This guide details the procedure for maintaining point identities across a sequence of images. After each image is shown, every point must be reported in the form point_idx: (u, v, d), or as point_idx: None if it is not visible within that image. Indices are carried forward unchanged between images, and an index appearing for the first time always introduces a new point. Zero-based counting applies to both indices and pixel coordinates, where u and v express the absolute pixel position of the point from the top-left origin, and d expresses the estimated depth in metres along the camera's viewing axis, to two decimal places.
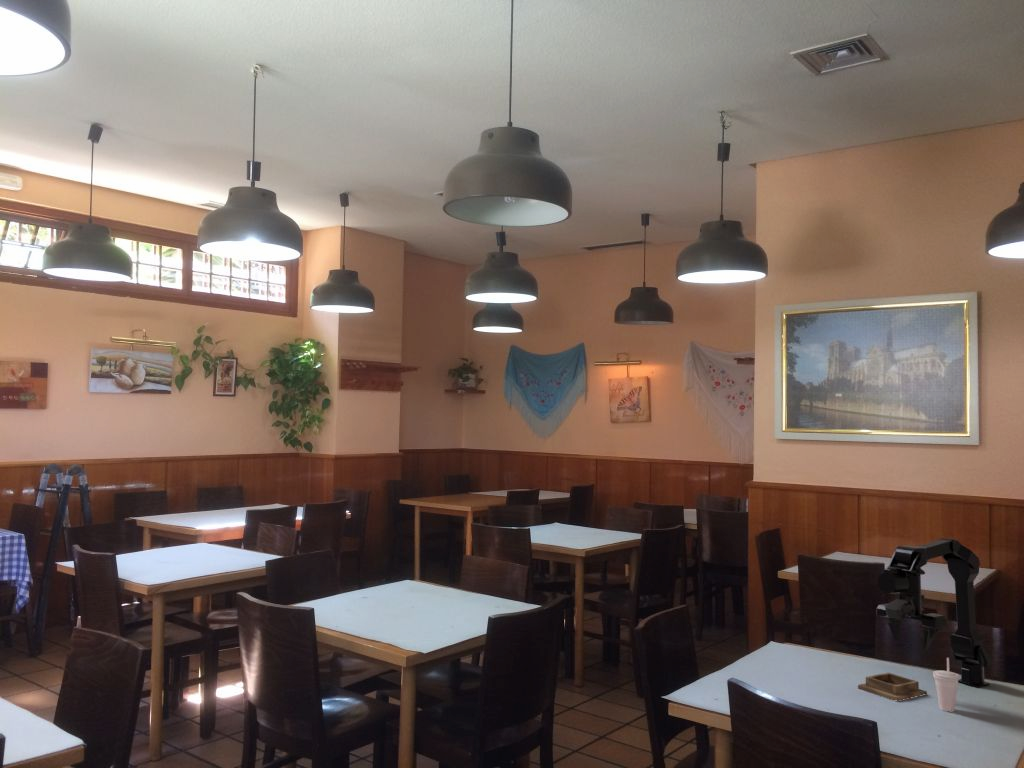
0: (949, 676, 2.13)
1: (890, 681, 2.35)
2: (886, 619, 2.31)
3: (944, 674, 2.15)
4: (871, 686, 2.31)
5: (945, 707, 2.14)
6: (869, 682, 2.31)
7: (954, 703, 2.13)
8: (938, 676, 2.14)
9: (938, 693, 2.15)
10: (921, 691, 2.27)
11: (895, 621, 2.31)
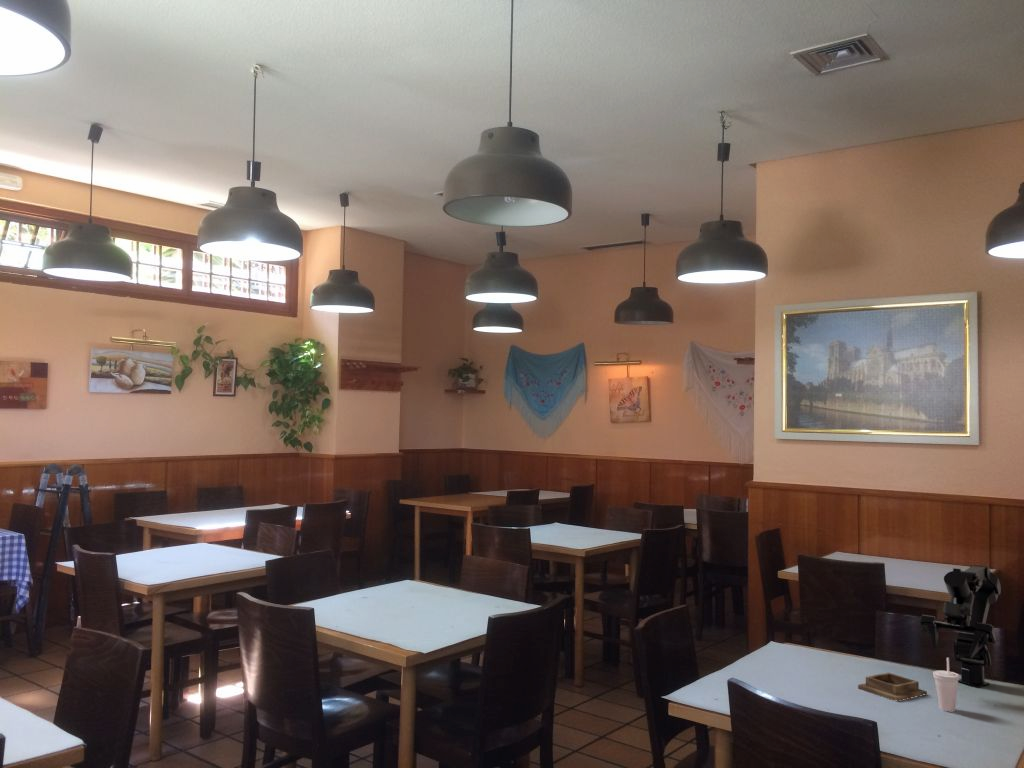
0: (949, 676, 2.13)
1: (890, 681, 2.35)
2: (930, 626, 2.28)
3: (944, 674, 2.15)
4: (871, 686, 2.31)
5: (945, 707, 2.14)
6: (869, 682, 2.31)
7: (954, 703, 2.13)
8: (938, 676, 2.14)
9: (938, 693, 2.15)
10: (921, 691, 2.27)
11: (936, 633, 2.29)
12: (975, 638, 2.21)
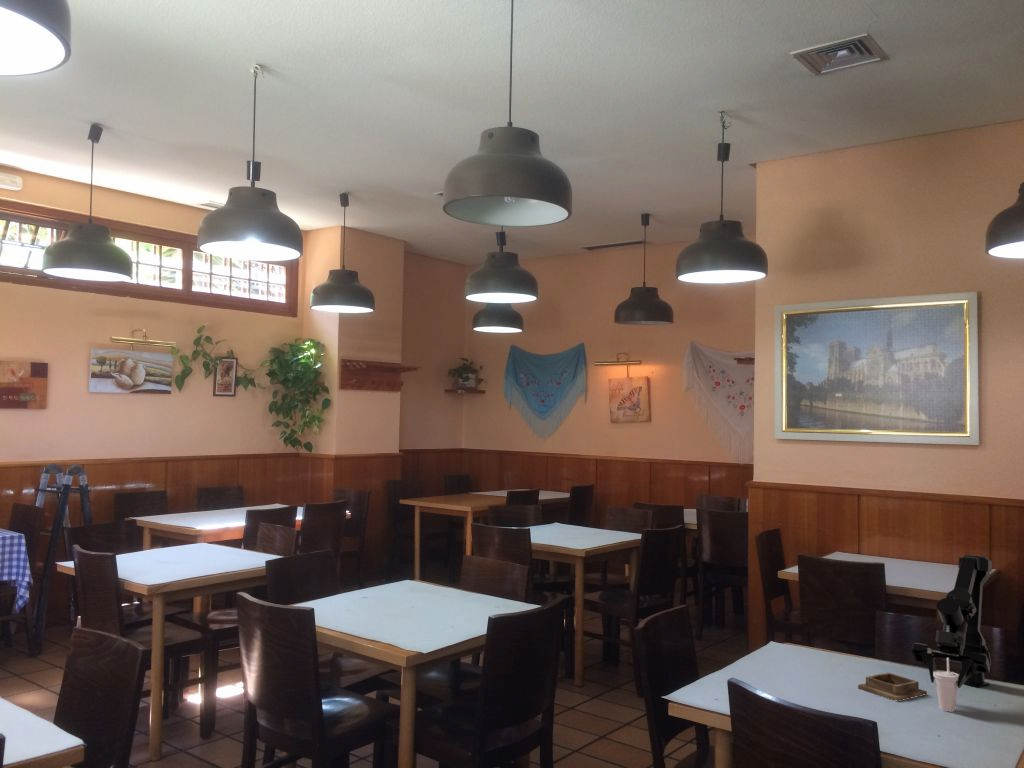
0: (949, 676, 2.13)
1: (890, 681, 2.35)
2: (928, 655, 2.20)
3: (944, 674, 2.15)
4: (871, 686, 2.31)
5: (945, 707, 2.14)
6: (869, 682, 2.31)
7: (954, 703, 2.13)
8: (938, 676, 2.14)
9: (938, 693, 2.15)
10: (921, 691, 2.27)
11: (933, 663, 2.20)
12: (963, 667, 2.14)
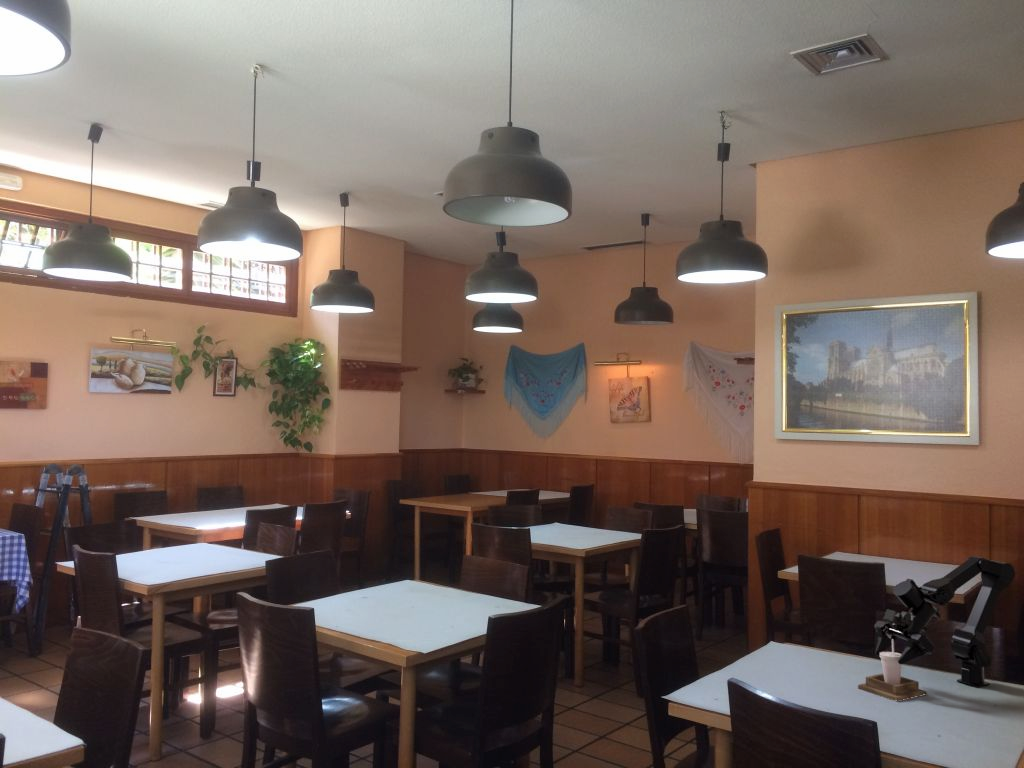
0: (888, 655, 2.29)
1: None
2: (879, 631, 2.37)
3: (887, 654, 2.31)
4: (871, 686, 2.31)
5: None
6: (869, 682, 2.31)
7: (895, 682, 2.28)
8: (880, 655, 2.31)
9: (883, 671, 2.32)
10: (921, 691, 2.27)
11: (886, 639, 2.37)
12: (907, 646, 2.26)
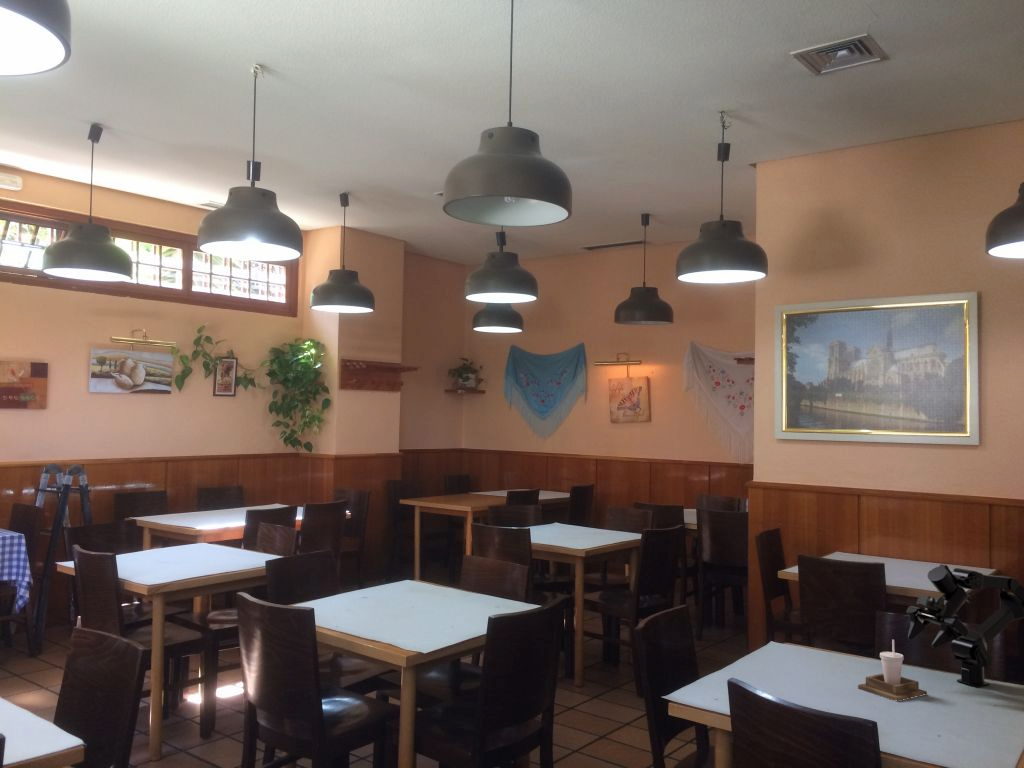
0: (889, 656, 2.29)
1: None
2: (912, 616, 2.40)
3: (887, 654, 2.31)
4: (871, 686, 2.31)
5: None
6: (869, 682, 2.31)
7: (895, 682, 2.28)
8: (880, 655, 2.31)
9: (883, 671, 2.32)
10: (921, 691, 2.27)
11: (918, 623, 2.39)
12: (941, 630, 2.29)
